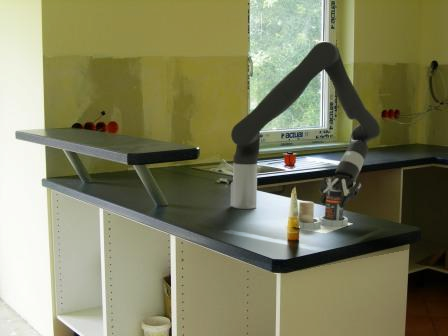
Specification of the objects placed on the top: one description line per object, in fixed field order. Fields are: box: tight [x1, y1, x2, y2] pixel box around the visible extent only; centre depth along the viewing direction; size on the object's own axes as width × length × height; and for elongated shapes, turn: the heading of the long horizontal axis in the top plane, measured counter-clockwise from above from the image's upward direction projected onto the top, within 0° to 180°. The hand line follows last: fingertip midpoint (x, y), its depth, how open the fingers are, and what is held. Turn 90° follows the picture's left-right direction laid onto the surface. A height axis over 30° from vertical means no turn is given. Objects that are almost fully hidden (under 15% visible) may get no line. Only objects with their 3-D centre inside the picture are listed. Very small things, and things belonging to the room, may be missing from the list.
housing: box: [285, 214, 354, 234], centre depth 221 cm, size 15×19×3 cm
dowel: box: [298, 200, 315, 223], centre depth 218 cm, size 5×5×8 cm
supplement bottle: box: [324, 190, 344, 220], centre depth 223 cm, size 6×6×11 cm
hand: (331, 205), depth 221 cm, fingers open, 6 cm apart
